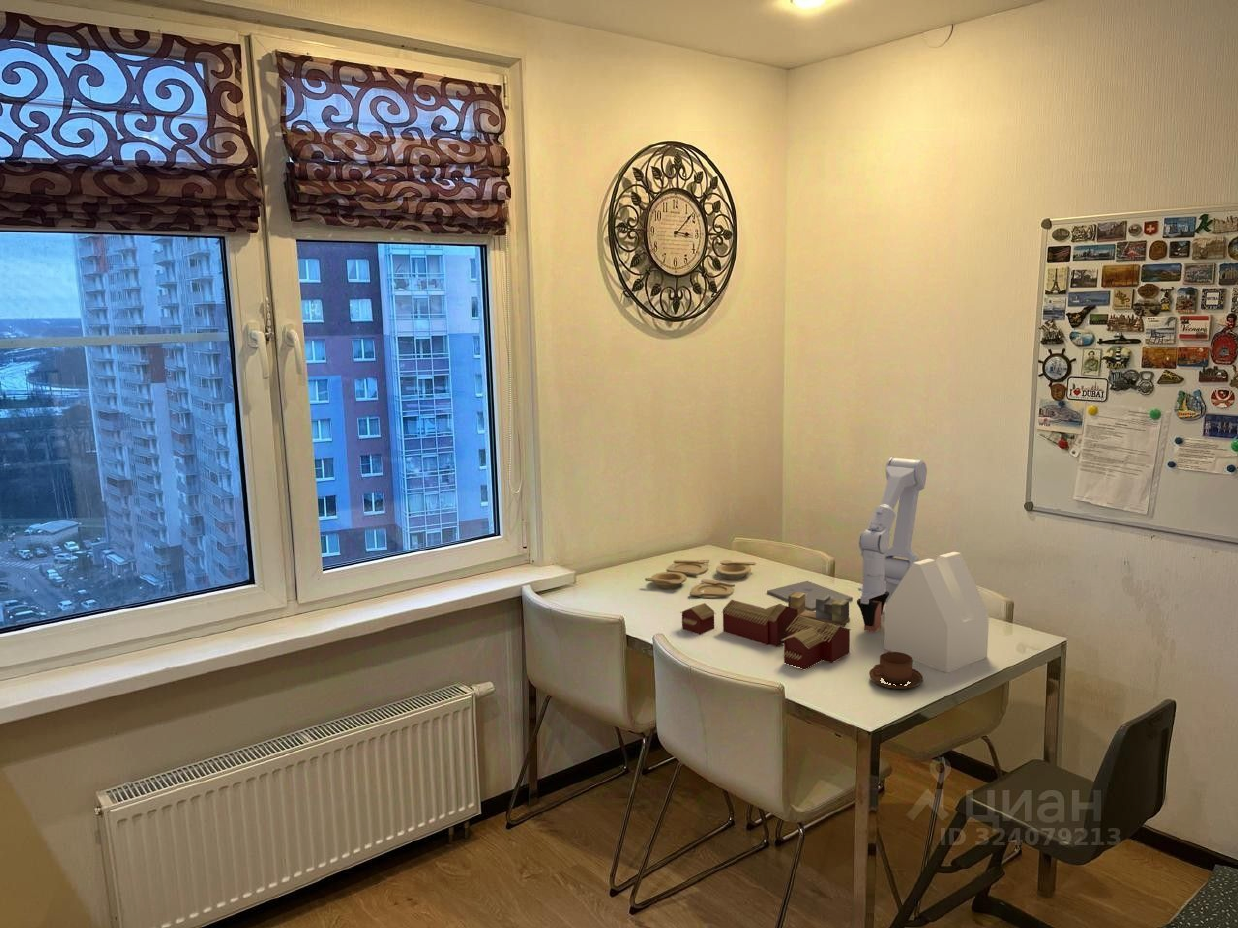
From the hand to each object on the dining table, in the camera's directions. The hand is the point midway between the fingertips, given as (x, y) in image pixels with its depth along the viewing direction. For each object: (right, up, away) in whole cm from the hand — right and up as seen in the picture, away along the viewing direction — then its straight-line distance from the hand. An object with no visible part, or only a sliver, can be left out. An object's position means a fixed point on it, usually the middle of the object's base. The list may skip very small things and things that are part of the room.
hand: (872, 621), depth 246 cm
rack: (-13, -1, +9) cm, 16 cm away
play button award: (-12, +2, +27) cm, 30 cm away
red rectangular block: (0, -2, 0) cm, 2 cm away
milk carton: (+11, -5, -17) cm, 21 cm away
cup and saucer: (-4, -9, -33) cm, 35 cm away
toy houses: (-31, -5, -5) cm, 32 cm away
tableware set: (-43, +4, +47) cm, 64 cm away
